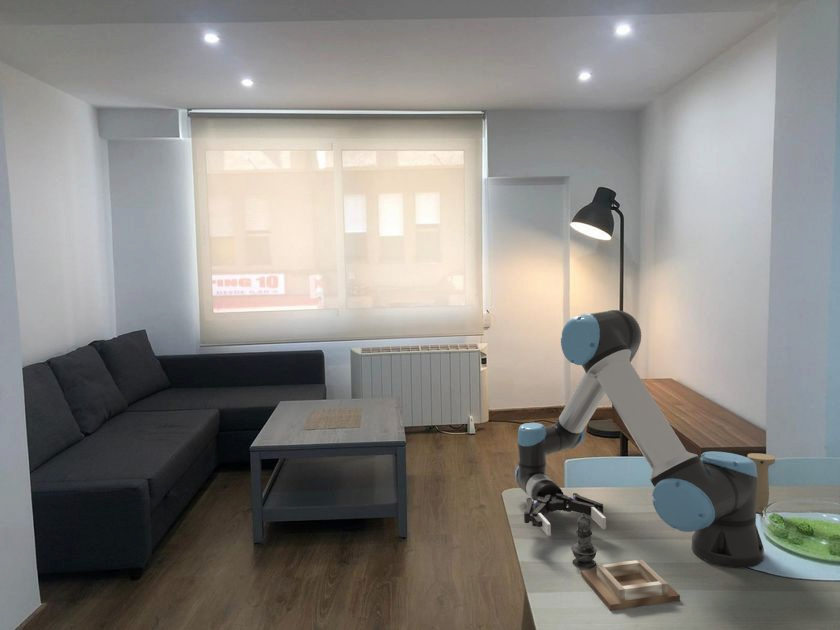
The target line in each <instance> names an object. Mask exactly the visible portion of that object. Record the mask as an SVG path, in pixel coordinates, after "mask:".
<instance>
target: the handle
mask: <svg viewBox="0 0 840 630" xmlns="http://www.w3.org/2000/svg"><path fill="white" fill-rule="evenodd" d="M746 457H747V458H749V459H751V460H753V461H754V462H755V464H756V470H757V476H758V478H757V492H756V514H761V513H762V511H763V510H764V508H765V507H767V508H768V505H769V500H770V483H769V466H772V465H773V464H775V463H776V456H774V455H771V454H768V453H767V454H766V453H759V452H758V453H753V452H751V453H748V454H747V456H746ZM762 514H763V513H762Z"/></svg>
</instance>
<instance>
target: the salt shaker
mask: <svg viewBox="0 0 840 630" xmlns="http://www.w3.org/2000/svg"><path fill="white" fill-rule="evenodd" d="M581 514H582V513H581ZM576 522H577V529H576V530H575V533H576V535H577V539H576V543H574V544H572V545H571V546H570V549H571V551H572V554H573V557H574V559H573V560H572V564H573V566H574V567H576V568H577V569H582V570H592V569H595V567H597V561H595V558H596V555H597V553H598V551H599V549H598V547H597V546H596V545H594V544H593V542H592V535H593V532H592V528H591V519H590V517H588V515H586V514H585V513H583V514H582V515H580V516H578V518H577V521H576Z"/></svg>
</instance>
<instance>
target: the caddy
mask: <svg viewBox="0 0 840 630" xmlns="http://www.w3.org/2000/svg"><path fill="white" fill-rule="evenodd" d="M580 575H581V577H582V579H583V580H584V581H585V582H586V583H587V584H588V586H589V587H590V588H591V589H592V591H594V593H595V594H596V595H597V596H598V598H599V599H600V601H602V602H603V603H604V605H605V606H606V607H607V608H608V609H609V611H610V612H611V611H616V610H617V611H618V610H624V609H633V608H638V607H646V606H647V607H648V606H652V605H660V604H668V603H674V602H680V601H681V595H680V594H679V593H678V592H677V590H675V589H674V588H673V587H672V586H671V585H669V583H668V582H667V581H666V580H664V578H662V577H661V576H660V575H659V574H658V573H657V572H656V571H655V570H653V568H652V567H651V566H649V565H648V564H647V563H646V562H645V561H644V560H643V559H637V560H628V561H619V562H613V563H603V564H596V568H591V569H583V570H581V574H580Z"/></svg>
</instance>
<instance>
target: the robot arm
mask: <svg viewBox="0 0 840 630" xmlns="http://www.w3.org/2000/svg"><path fill="white" fill-rule="evenodd" d="M641 341H642V329H641V327H640V324H639V323H638V321H637V320H636V318H635V317H634V316H633V315H631V314H630V313H628V312H626V311H623V310H619V309H611V310H608V311H601V312H593V313H592V312H591V313H583V314H581V315H577V316H573V317H572V318H570V319H569V320H568V321H567V322H565V325H564V326H563V328H562V331H561V337H560V346H561V351H562V354H563V355H564V357H565V358H566V359H567V361H568V362H569V363H572V364H574V365H577V366H581V367H582V369H583V370H584V374H583V376H582V377H581V380H580V381H579V382H578V383H577V384H578V385H576V388H575V389H574V391H573V393H572V394H571V396H570V398H569V400H568V401H567V403H566V405H565V406H564V408H563V410H562V411H561V413H560V415H559V416H558V418H557V419H556V421H555V423H554V424H552V425H550V426H549V425H548V426H545V425H544V424H542V423H540V422H539V423H538V422H527V423H525V422H524V423H523V424H521V425H520V426H519V427H518V431H517V432H518V433H517V447H518V453H517V454H518V465H517V466H516V468H515V471H514V479H515V482H516V483H517V484H518V486H519V488H520V489H521V490H522V491H523V492H524V493H525V494H526V495H527V497H526V505H525V508H524V512H523V522H524V523H525V524H530V522H531V524H532V525H531V526H533V527H538V528H541V529H542V530H543V532H544V533H545V534H546V536H552V532H551V531H552V529H551V525H552V524H551V523H550V522H549V520H548V519H547V518H546V517H545V516H547V515H548V514H549V513H551V512H556V511H559V512H561V511H564V512H567V513H571V512H575V513H578V514H583V513H585V516H590V518H591V519H592V520H593V521H594V522H595V523H596V524H597V525H598V526H599V527H600V528H601V529H602V530H606V529H607V517H606V516H605V515H604V504H603V503H602V502H598V501H595V500H592V499H589V498H587V497H584V496H581V495H580V494H578V493H576V492H573V493H572V496H568V495H567V494H564V492H563V490H562V489H561V488H560V486H559V485H558V484H557V483H556V482H554V481H553V480H552V479H551V478H550V477H549V476H548V475H547V456H549V455H552V454H556V453H558V452H562V451H566V450H569V449H571V450H572V449H574V448H576V447H578V446H580V445H581V444H583V443H584V442H585V438H586V436H585V435H586V431H585V428H586V426H587V425H588V423H589V421H590V420H591V418H592V417H593V415H594V413H595V412H596V410H597V409H598V407H599V406H600V404H601V403H602V400H603V399H604V398H605V396H607V397H608V399H609V401H610V403H611V404H612V405H613V407H614V409H615V410H616V413H618V414H617V415H618V416H619V417H620V419H621V420H622V422H623V424H624V425H625V427H626V429H627V431H628V432H629V434H630V436H631V437H632V439H633V441H634V442H635V444H636V446H637V447H638V449H639V451H640V452H641V453H642V456H643V458H644V459H645V460H646V462H647V464H648V465H649V468H650V469H651V474H650V477H649V480H650V482H651V484H652V486H653V487H654V488H653V490H652V495H651V496H652V497H653V498H652V505H653V507H654V510H655V512H656V513H657V515H658V516H659V518H660V519H661V521H663V522H664V523H666V524H667V525H668V526H669V527H671V528H672V529H675V530H678V531H680V532H684V533H686V532H687V533H691V532H694V533H693V534H692V537H691V550H692V552H693V554H695V555H696V556H697V557H698V558H700V559H702V560H704V561H706V562H708V563H710V564H714V565H717V566H722V567H727V568H737V569H743V568H752V567H755V566H758V565H760V564H761V563H762V562H763V561H764V559H765V555H764V554H765V548H764V545H763V542H762V539H761V536H760V533H759V530H758V526H757V523H756V521H757V520H756V519H757V512H756V492H757V478H758V476H757V470H756V464H755V462H754V461H753V460H751V459H749V458H747V456H744V455H740V454H736V453H732V452H724V451H715V450H714V451H705V452H704V451H703V453H702V454H701V453H700V457H699V455H698V454H696V453H692V452H689V451H688V450H686V448H685V446H684V444H683V443H682V441H681V440H680V438H679V436H678V435H677V434H676V432H675V431H674V429H673V426H671V424H670V423H669V421H668V419H667V418H666V416H665V415H664V413H663V412H662V410H661V408H660V407H659V405H658V404H657V402H656V401H655V399H654V398H653V396H652V394H651V393H650V391H649V390H648V388H647V386H646V385H645V383H644V382H643V380H642V379H641V377H640V375H639V374H638V372H637V371H636V369H635V367H634V366H633V364H632V363H631V362H632V361H633V359H634V358H635V356H636V355H637V352H638V351H639V348H640V346H641ZM536 506H537V507H536Z"/></svg>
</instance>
